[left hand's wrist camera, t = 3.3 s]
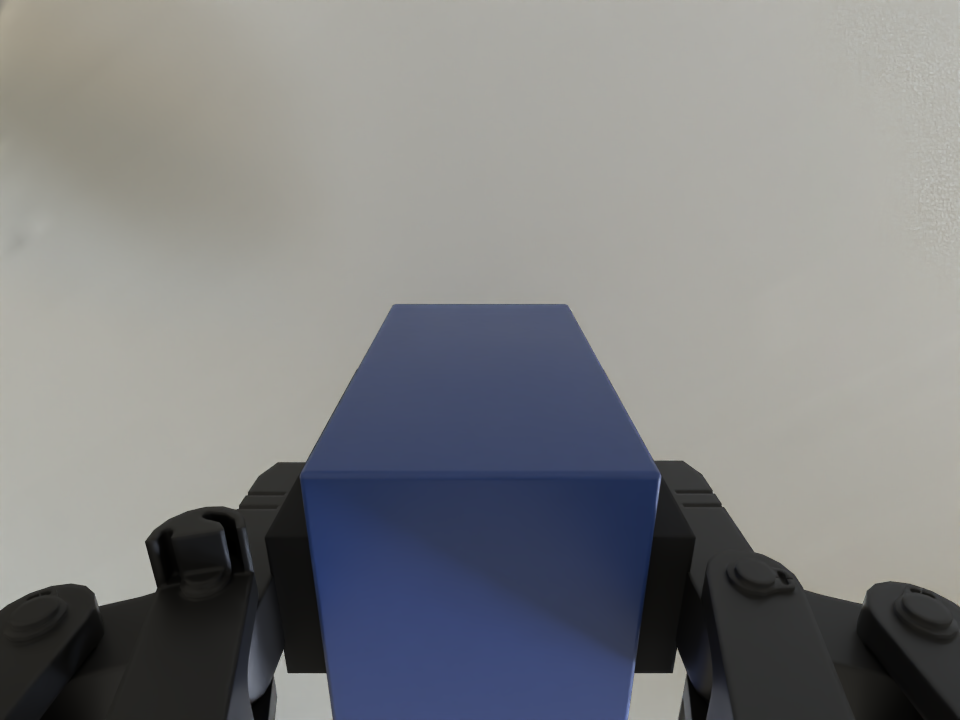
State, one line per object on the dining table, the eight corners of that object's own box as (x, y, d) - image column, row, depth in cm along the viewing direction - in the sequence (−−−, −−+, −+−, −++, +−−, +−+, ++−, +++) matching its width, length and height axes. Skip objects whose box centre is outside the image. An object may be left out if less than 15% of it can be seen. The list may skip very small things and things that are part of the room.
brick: (402, 472, 17) (335, 752, 9) (392, 303, 15) (295, 474, 7) (558, 472, 17) (625, 752, 9) (568, 303, 15) (664, 474, 7)
